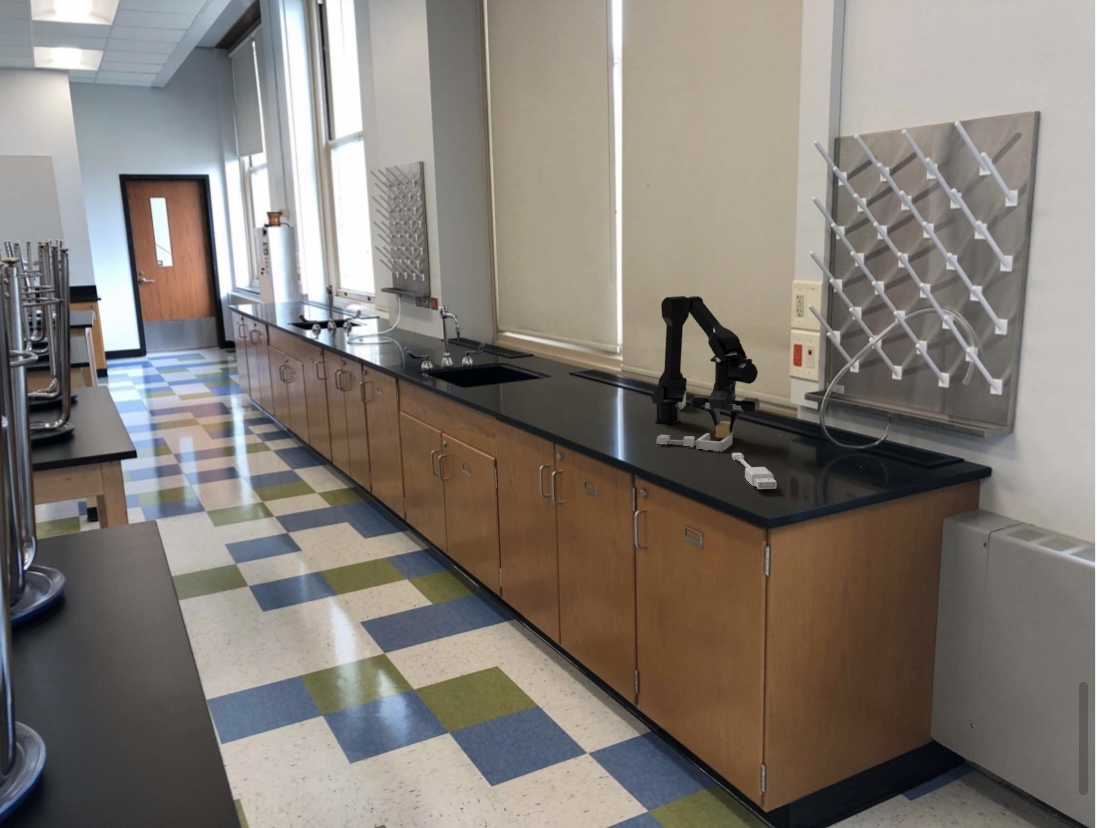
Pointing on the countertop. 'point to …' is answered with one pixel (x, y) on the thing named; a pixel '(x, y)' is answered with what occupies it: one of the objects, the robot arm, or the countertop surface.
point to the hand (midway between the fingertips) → (724, 431)
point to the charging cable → (756, 474)
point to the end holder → (713, 443)
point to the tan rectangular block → (723, 429)
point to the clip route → (666, 440)
